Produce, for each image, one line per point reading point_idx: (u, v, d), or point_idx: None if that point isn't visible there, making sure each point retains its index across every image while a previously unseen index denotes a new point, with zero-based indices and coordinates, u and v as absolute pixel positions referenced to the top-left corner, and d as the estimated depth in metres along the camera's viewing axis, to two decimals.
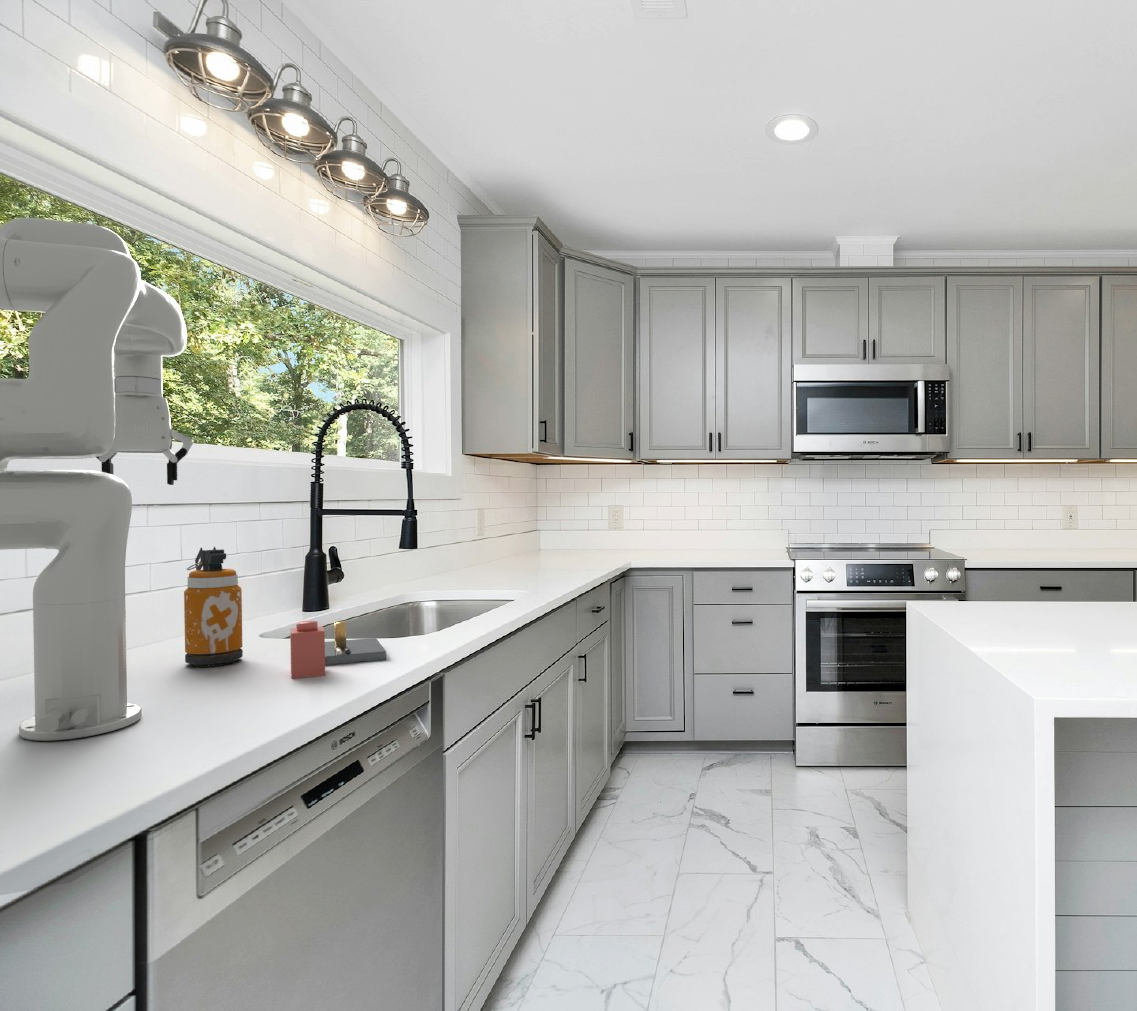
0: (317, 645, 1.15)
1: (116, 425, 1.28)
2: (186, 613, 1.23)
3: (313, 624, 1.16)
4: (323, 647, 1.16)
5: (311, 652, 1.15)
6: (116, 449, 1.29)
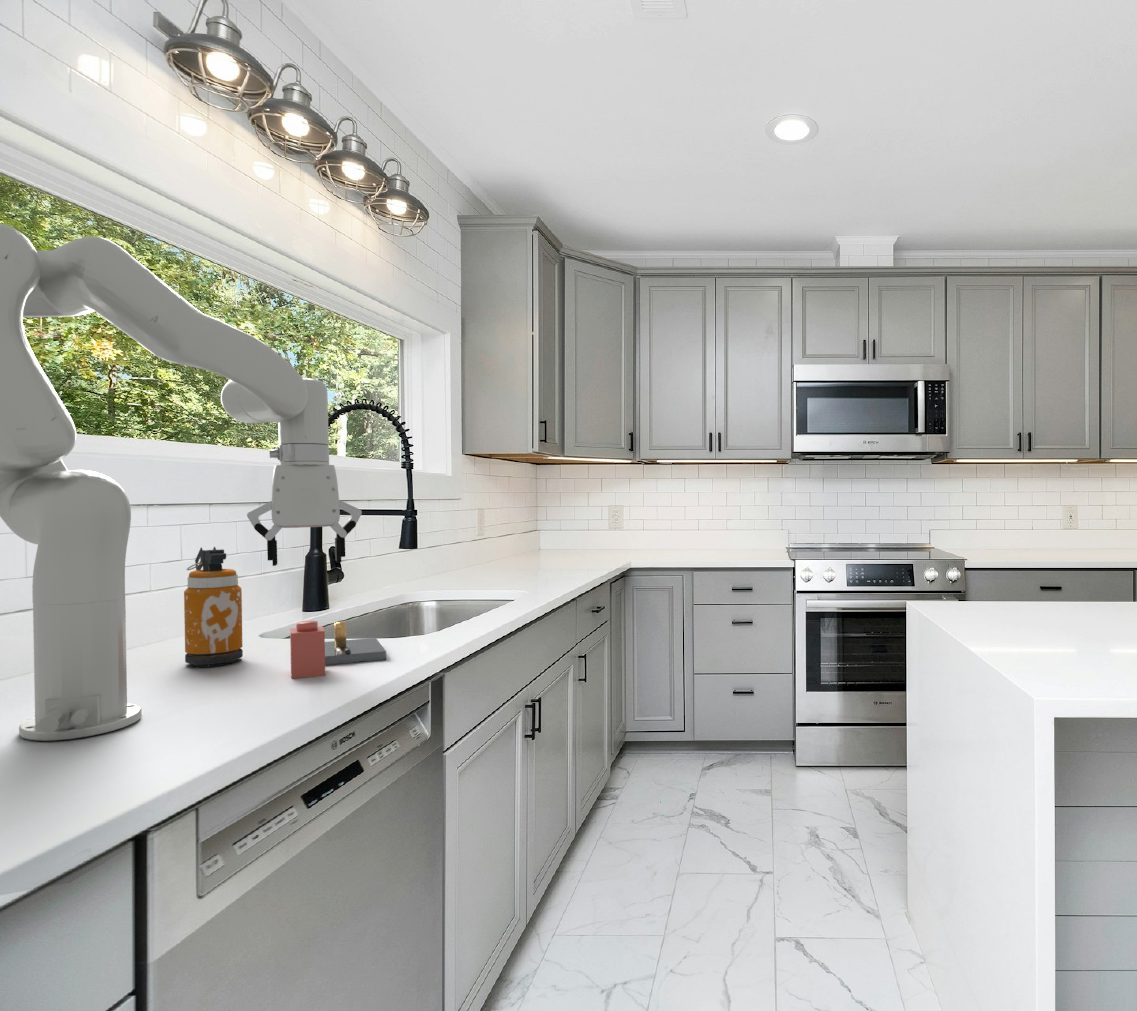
0: (317, 645, 1.15)
1: (284, 499, 1.14)
2: (186, 613, 1.23)
3: (313, 624, 1.16)
4: (323, 647, 1.16)
5: (311, 652, 1.15)
6: (285, 526, 1.14)
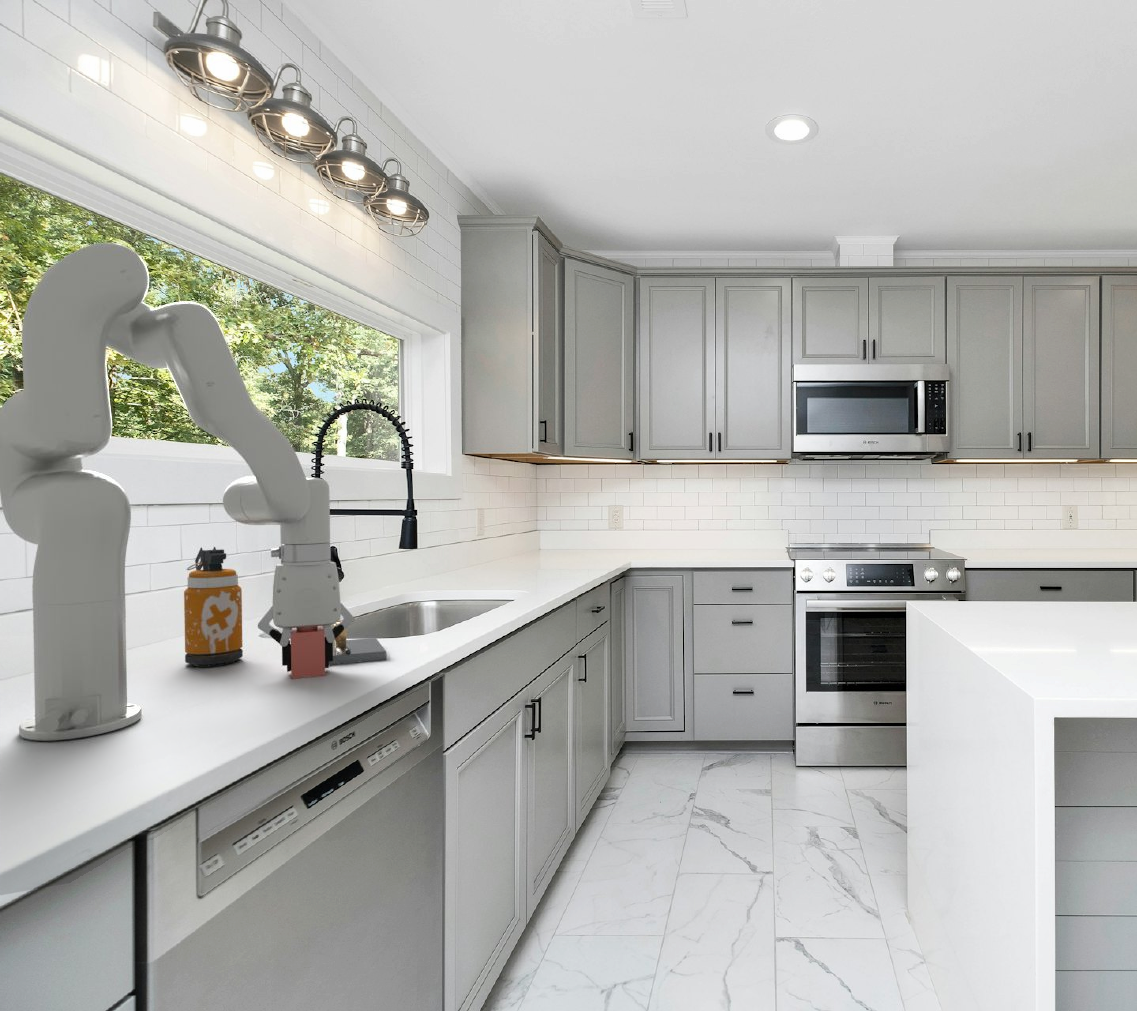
0: (317, 645, 1.15)
1: (286, 600, 1.14)
2: (186, 613, 1.23)
3: None
4: (323, 647, 1.16)
5: (311, 652, 1.15)
6: (286, 627, 1.14)
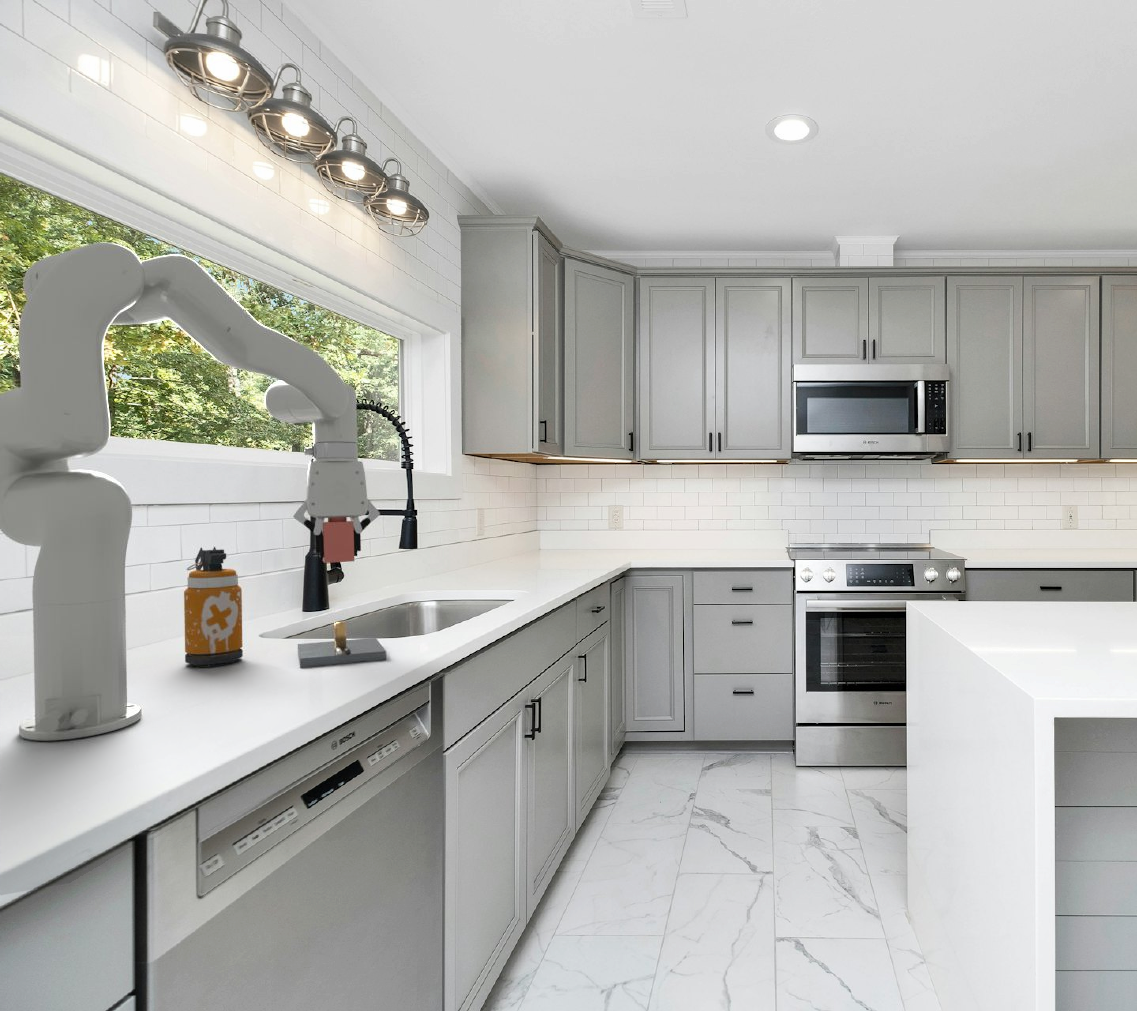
0: (347, 534, 1.28)
1: (318, 492, 1.26)
2: (186, 613, 1.23)
3: None
4: (352, 536, 1.28)
5: (341, 540, 1.28)
6: (319, 517, 1.26)
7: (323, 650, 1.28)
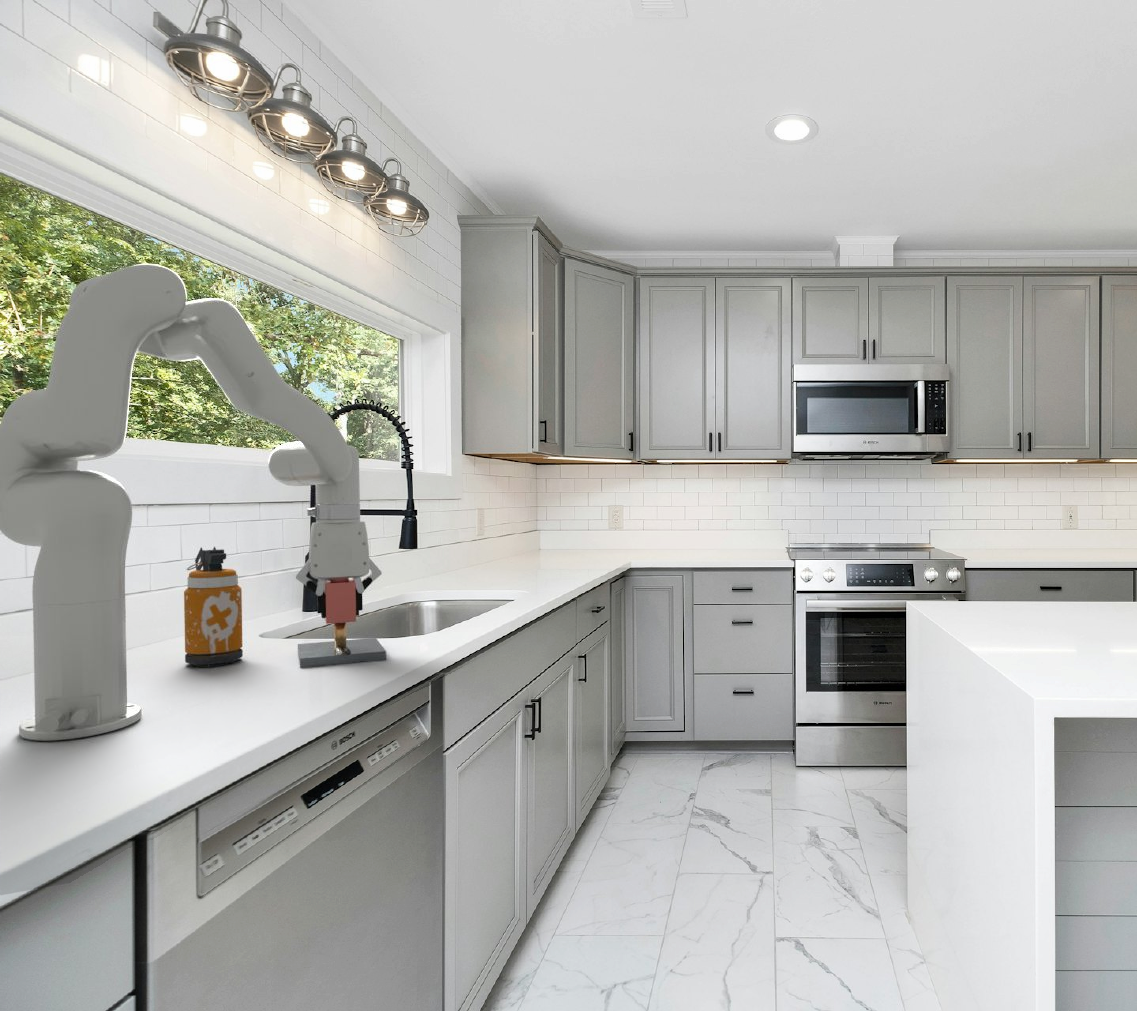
0: (349, 594, 1.29)
1: (321, 553, 1.27)
2: (186, 613, 1.23)
3: None
4: (354, 596, 1.29)
5: (343, 601, 1.29)
6: (321, 578, 1.27)
7: (323, 650, 1.28)
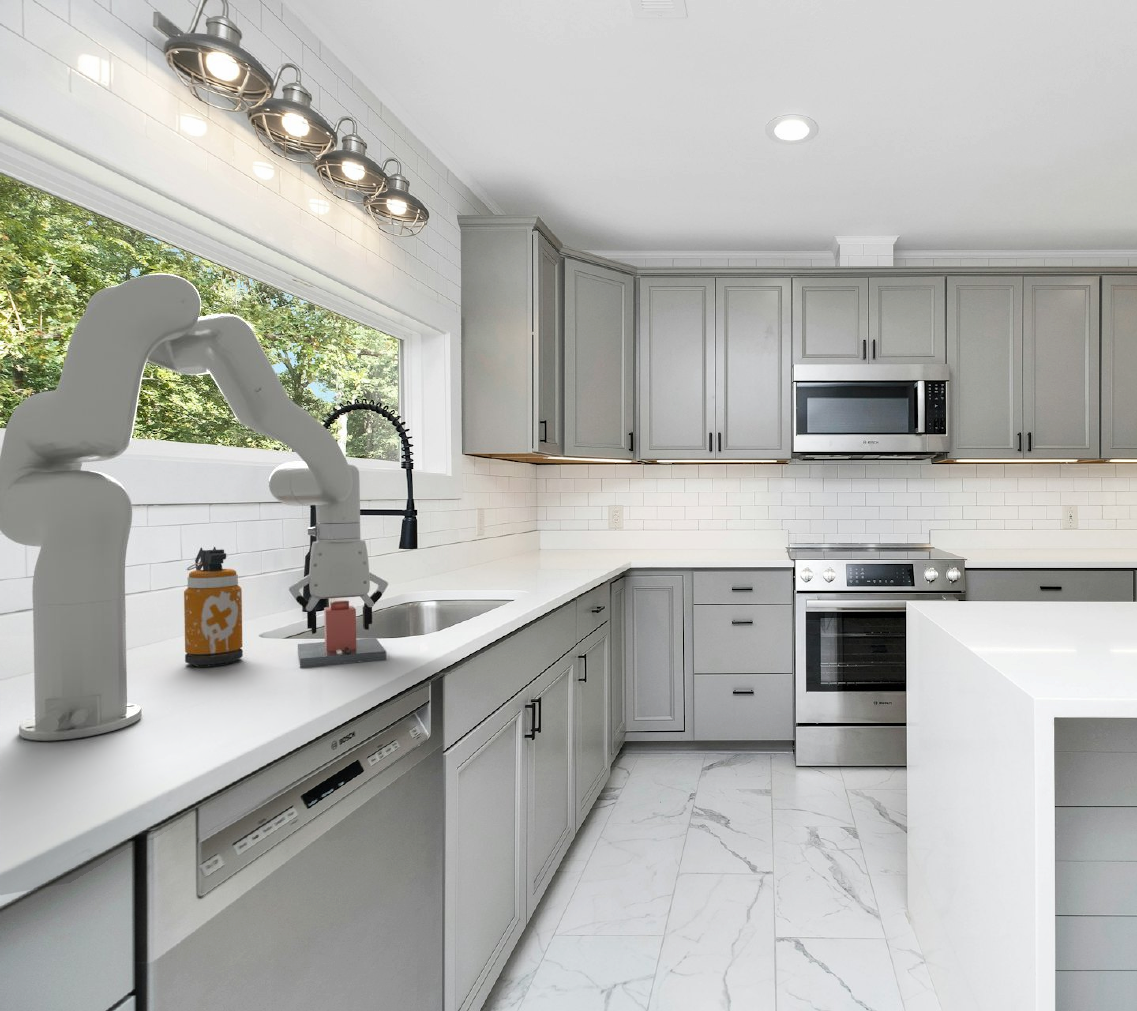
0: (349, 622, 1.29)
1: (321, 573, 1.27)
2: (186, 613, 1.23)
3: (345, 603, 1.30)
4: (354, 623, 1.29)
5: (344, 628, 1.28)
6: (321, 597, 1.27)
7: (323, 650, 1.28)
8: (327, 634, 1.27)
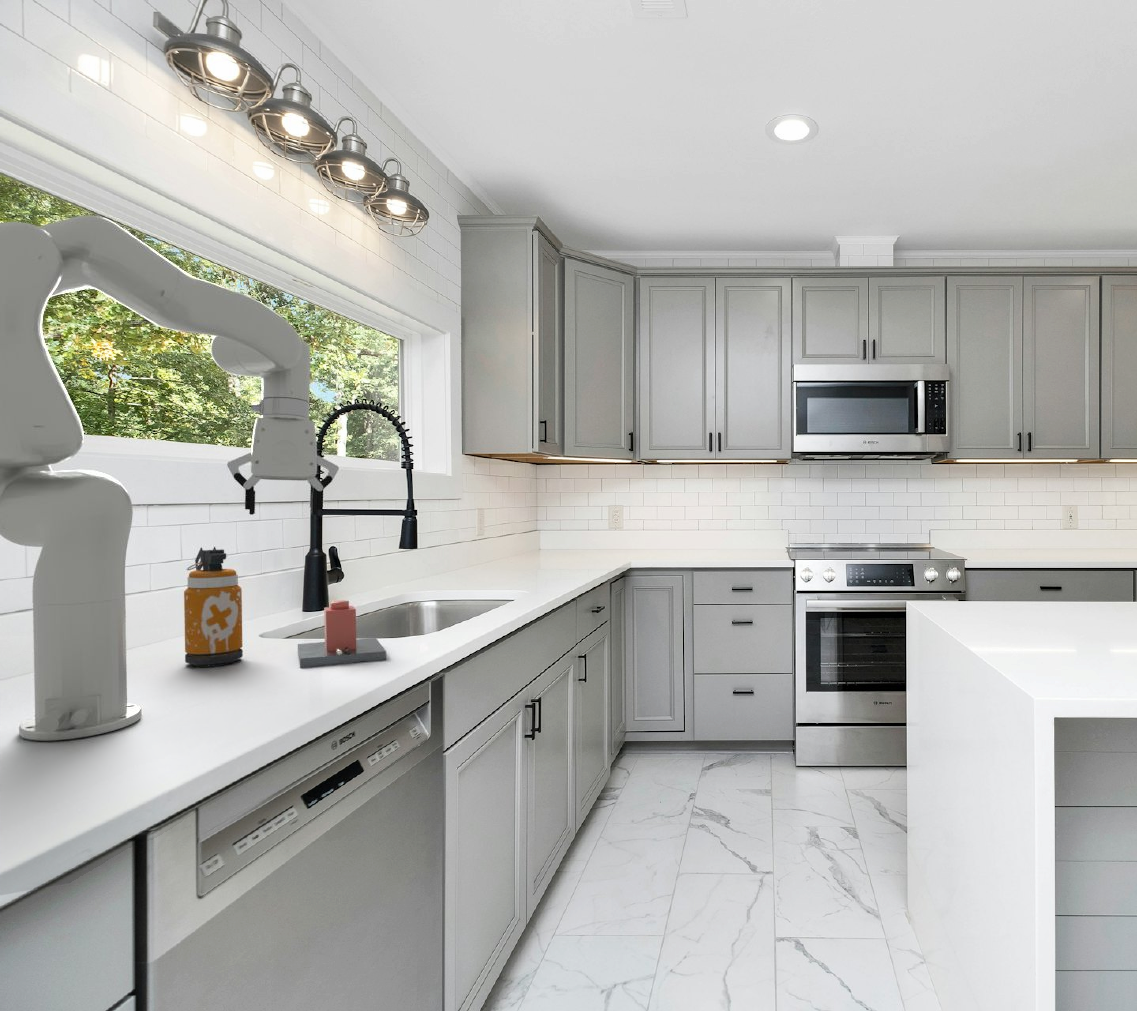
0: (349, 622, 1.29)
1: (264, 450, 1.18)
2: (186, 613, 1.23)
3: (345, 603, 1.30)
4: (354, 623, 1.29)
5: (344, 628, 1.28)
6: (263, 476, 1.18)
7: (323, 650, 1.28)
8: (327, 634, 1.27)
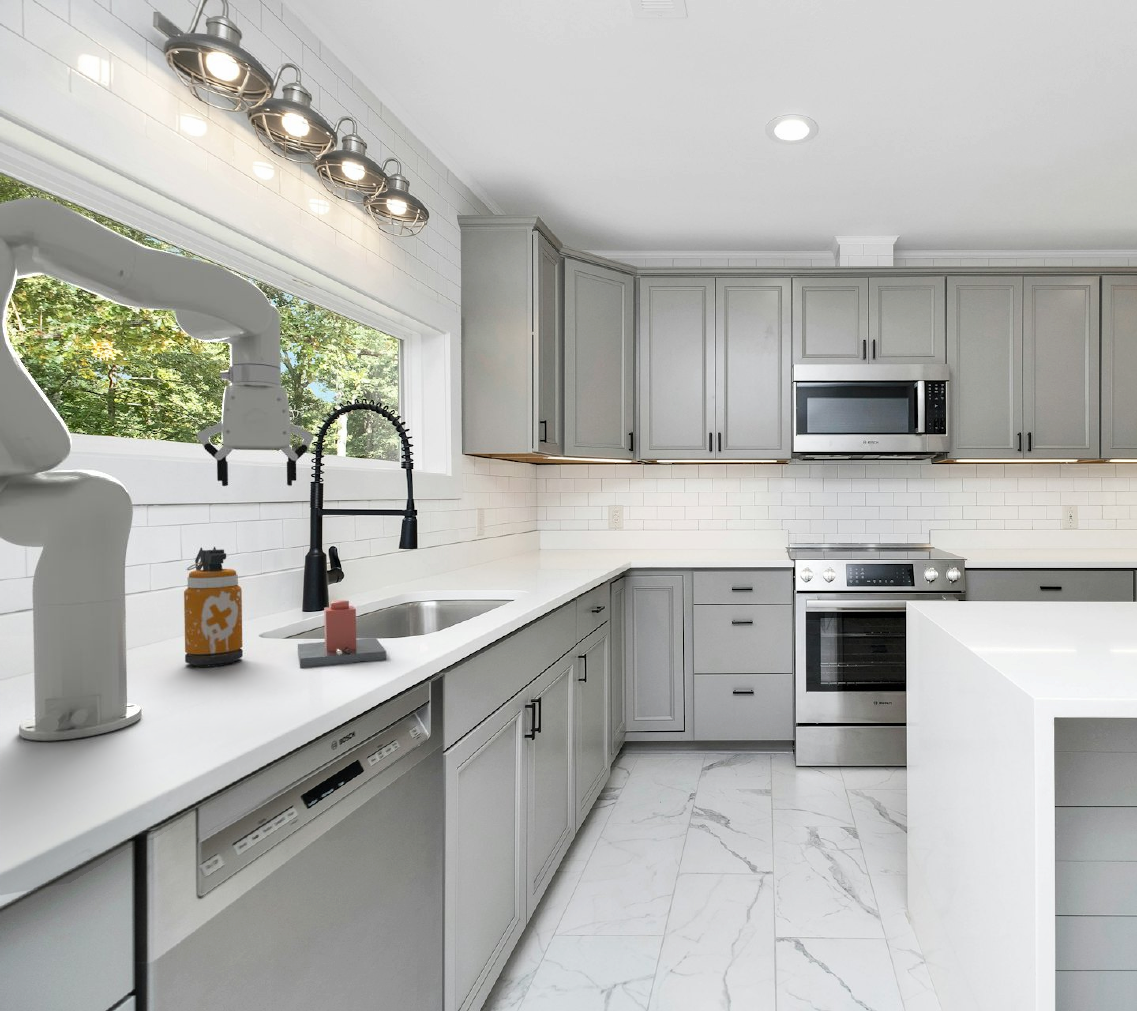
0: (349, 622, 1.29)
1: (234, 419, 1.15)
2: (186, 613, 1.23)
3: (345, 603, 1.30)
4: (354, 623, 1.29)
5: (344, 628, 1.28)
6: (235, 446, 1.15)
7: (323, 650, 1.28)
8: (327, 634, 1.27)
